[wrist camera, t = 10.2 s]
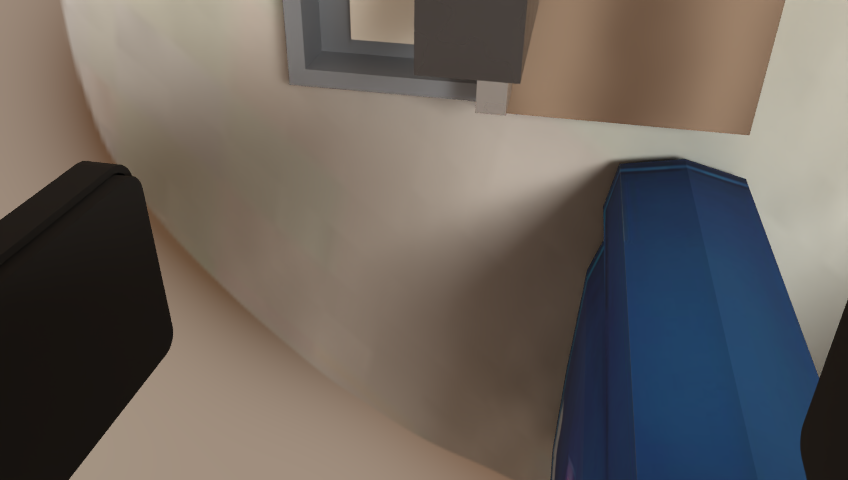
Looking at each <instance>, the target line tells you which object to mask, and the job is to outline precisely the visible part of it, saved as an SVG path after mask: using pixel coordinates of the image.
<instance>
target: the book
mask: <svg viewBox="0 0 848 480" xmlns="http://www.w3.org/2000/svg"><path fill="white" fill-rule="evenodd" d="M603 214H604V241H603V242H602V244H601V246H600V248H599V250H598V252H597V253H596V255H595V257H594V259H593V261H592V263H591V264H590V266H589V268H588V270H587V274H586V279H585V284H584V288H583V293H582V298H581V303H580V308H579V312H578V317H577V322H576V327H575V332H574V337H573V341H572V346H571V351H570V356H569V361H568V365H567V371H566V377H565V382H564V388H563V394H562V399H561V405H560V411H559V416H558V422H557V428H556V434H555V439H554V445H553V452H552V467H551V480H807V478H806V474H805V470H804V466H803V462H802V457H801V451H800V437H801V430H802V426H803V423H804V420H805V417H806V414H807V412H808V409H809V406H810V403H811V400H812V398H813V395H814V392H815V389H816V387H817V384H818V381H819V377H818V374H817V371H816V369H815V366H814V363H813V360H812V358H811V355H810V352H809V350H808V347H807V344H806V341H805V339H804V336H803V333H802V331H801V328H800V325H799V322H798V320H797V317H796V314H795V311H794V309H793V306H792V303H791V301H790V298H789V295H788V292H787V290H786V287H785V284H784V282H783V279H782V276H781V273H780V271H779V268H778V265H777V263H776V260H775V257H774V254H773V252H772V249H771V246H770V244H769V241H768V238H767V235H766V233H765V230H764V227H763V225H762V222H761V219H760V216H759V214H758V211H757V208H756V206H755V203H754V200H753V197H752V195H751V192H750V189H749V187H748V184H747V181H746V179H744V178H741V177H738V176H735V175H732V174H729V173H726V172H722V171H719V170H716V169H713V168H710V167H707V166H704V165H701V164H698V163H695V162H692V161H689V160H686V159H680V160H666V161H652V162H638V163H624V164H619V167H618V170H617V172H616V175H615V177H614V180H613V183H612V185H611V188H610V190H609V193H608V196H607V198H606V201H605V204H604V206H603Z"/></svg>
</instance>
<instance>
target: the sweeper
mask: <svg viewBox="0 0 848 480" xmlns="http://www.w3.org/2000/svg"><path fill="white" fill-rule="evenodd" d="M539 1H540V0H414V75H419V76H431V77H443V78H455V79H467V80H477V92H476V110H475V113H485V114H496V115H506V112H507V108H508V104H509V100H510V96H511V87H512V83H514V84H520V83H521V79H522V74H523V70H524V66H525V62H526V57H527V53H528V49H529V45H530V40H531V36H532V32H533V27H534V23H535V19H536V15H537V10H538V6H539Z"/></svg>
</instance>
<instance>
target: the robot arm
mask: <svg viewBox="0 0 848 480" xmlns="http://www.w3.org/2000/svg"><path fill="white" fill-rule="evenodd" d="M172 339H173V327H172V322H171V317H170V313H169V308H168V304H167V299H166V295H165V289H164V285H163V280H162V276H161V271H160V267H159V262H158V257H157V253H156V248H155V244H154V239H153V234H152V229H151V225H150V221H149V216H148V211H147V206H146V202H145V197H144V192H143V188H142V185H141V183H140V181H139V180H138V179H137V178H136V177H133V176H132V175H131V173H130V171H129V170H128V168H126V167H125V166H123V165H117V164H108V163H99V162H91V161H82V162H80V163H77V164H76V165H74V166H73V167H72V168H70V169H69V170H68V171H66V172H65V173H63V174H62V175H61V176H59V177H58V178H57V179H56V180H54V181H53V182H51V183H50V184H49V185H47V186H46V187H44V188H43V189H42V190H40V191H39V192H38V193H36V194H35V195H34V196H33V197H31V198H29V199H28V200H27V201H25V202H24V203H23V204H21V205H20V206H19V207H17V208H16V209H15V210H13V211H12V212H11V213H9V214H8V215H6V216H5V217H4V218H2V219H1V220H0V480H69V479H70V477H71V476H72V475H73V473H74V472H75V471H76V470H77V468H78V467H79V466H80V464H81V463H82V462H83V461H84V459H85V458H86V457H87V456H88V454H89V453H90V451H91V450H92V449H93V448H94V447H95V445H96V444H97V443H98V441H99V440H100V439H101V438H102V436H103V435H104V434H105V432H106V431H107V430H108V429H109V427H110V426H111V425H112V423H113V422H114V421H115V419H116V418H117V417H118V416H119V414H120V413H121V412H122V410H123V409H124V408H125V407H126V405H127V404H128V403H129V402H130V400H131V399H132V398H133V396H134V395H135V394H136V393H137V391H138V390H139V389H140V387H141V386H142V385H143V383H144V382H145V381H146V380H147V378H148V377H149V376H150V375H151V373H152V372H153V371H154V369H155V368H156V367H157V365H158V364H159V363H160V362H161V360H162V359H163V358H164V357H165V355H166V354H167V352H168V351H169V349H170V346H171V343H172ZM800 451H801V457H802V462H803V466H804V470H805V474H806V478H807V480H848V300H847V303H846V306H845V309H844V312H843V314H842V317H841V320H840V323H839V325H838V328H837V331H836V334H835V337H834V339H833V342H832V345H831V348H830V350H829V353H828V356H827V359H826V362H825V364H824V367H823V370H822V373H821V375H820V378H819V381H818V384H817V387H816V389H815V392H814V395H813V398H812V400H811V403H810V406H809V409H808V412H807V414H806V417H805V420H804V423H803V426H802V430H801V437H800Z"/></svg>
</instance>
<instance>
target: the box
mask: <svg viewBox="0 0 848 480" xmlns="http://www.w3.org/2000/svg"><path fill="white" fill-rule="evenodd" d="M283 11H284V22H285V34H286V46H287V58H288V70H289V82H290V85H300V86H311V87H322V88H333V89H345V90H356V91H367V92H378V93H390V94H401V95H412V96H423V97H435V98H446V99H457V100H468V101H476V92H477V80H467V79H455V78H443V77H431V76H419V75H414V44H403V43H391V42H378V41H365V40H352V39H351V22H350V0H283Z"/></svg>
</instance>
